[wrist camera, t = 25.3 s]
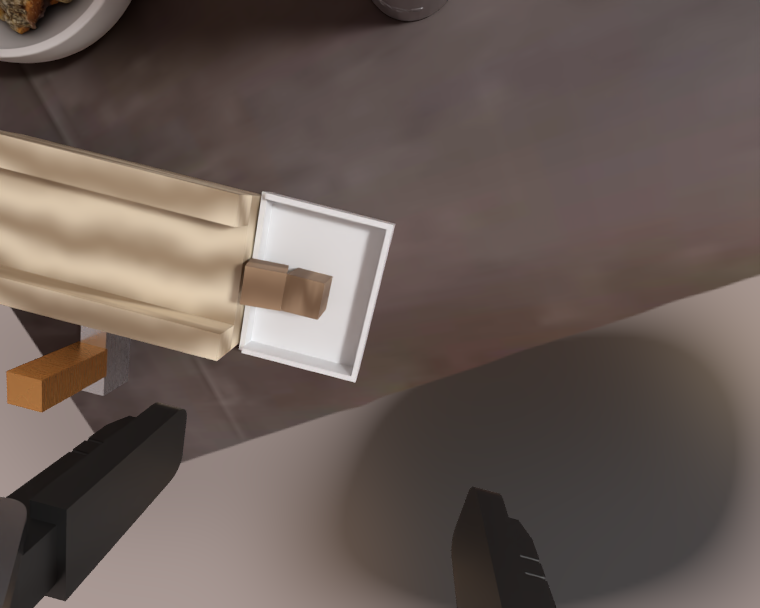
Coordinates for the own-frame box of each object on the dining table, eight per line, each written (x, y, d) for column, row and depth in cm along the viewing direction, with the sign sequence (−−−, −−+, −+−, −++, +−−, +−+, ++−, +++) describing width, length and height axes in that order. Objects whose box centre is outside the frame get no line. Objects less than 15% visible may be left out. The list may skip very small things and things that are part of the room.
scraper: (106, 309, 47) (5, 344, 35) (133, 316, 46) (41, 354, 35) (103, 374, 49) (8, 427, 37) (129, 381, 49) (42, 436, 37)
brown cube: (287, 274, 39) (324, 283, 39) (298, 267, 42) (332, 276, 42) (280, 310, 40) (317, 319, 40) (292, 301, 44) (325, 309, 43)
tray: (270, 192, 41) (260, 191, 38) (395, 223, 41) (394, 225, 38) (247, 342, 46) (236, 351, 43) (358, 371, 46) (355, 382, 43)
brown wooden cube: (251, 257, 41) (245, 265, 37) (288, 265, 42) (286, 273, 38) (245, 293, 42) (239, 304, 38) (282, 299, 43) (280, 311, 39)
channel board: (23, 134, 42) (-52, 121, 35) (267, 196, 41) (238, 194, 35) (26, 280, 46) (-40, 293, 40) (245, 337, 46) (216, 361, 39)
